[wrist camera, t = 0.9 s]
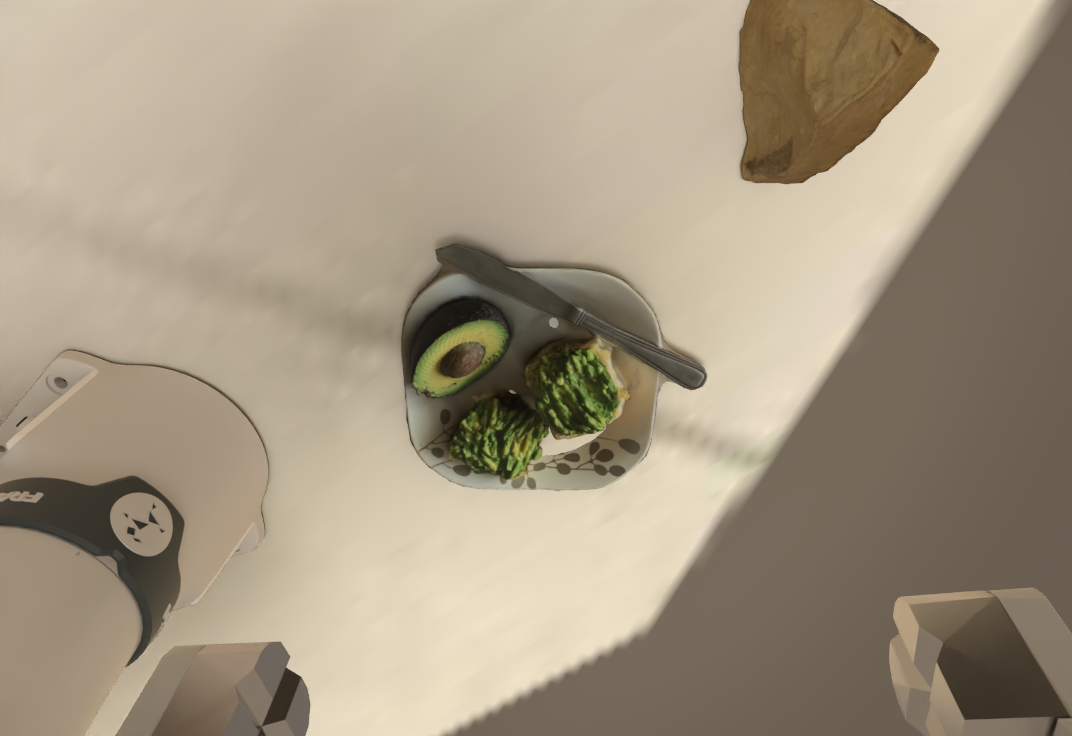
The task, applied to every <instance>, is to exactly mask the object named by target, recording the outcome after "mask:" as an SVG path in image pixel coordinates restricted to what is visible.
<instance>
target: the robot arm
mask: <svg viewBox="0 0 1072 736" xmlns="http://www.w3.org/2000/svg"><path fill="white" fill-rule="evenodd" d="M62 378H63V379H65V380H66V381H67V383H66V382H65V381H63V380H62ZM267 483H268V462H267V457H266V453H265V450H264V447H263V444H262V442H261V440H260V438H259V436H258V434H257V432H256V431H255V429H254V427H253V426H252V425H251V423H250V422H249V420H248V419H247V418H246V417H245V415H244V414H243V413H242V412H241V411H240V410H239V409H238V408H237V407H236V406H235V405H234V404H233V403H232V402H230V401H229V400H228V399H227V398H226V397H224V396H223V395H222V394H220V393H219V392H218V391H216V390H215V389H213V388H211V387H210V386H208V385H206V384H204V383H203V382H201V381H199V380H197V379H195V378H192V377H190V376H187V375H185V374H182V373H179V372H176V371H173V370H169V369H165V368H160V367H154V366H144V365H121V364H114V363H110V362H107V361H105V360H102V359H100V358H97V357H94V356H91V355H88V354H85V353H82V352H78V351H65V352H63V353H61V354H60V355H59V356H58V357H57V358H56V359H55V360H54V361H53V362H52V363H51V364H50V365H49V366H48V368H47V369H46V370H45V371H44V373H43V374H42V375H41V376H40V378H39V379H38V380H37V381H36V382H35V384H34V385H33V386H32V387H31V389H30V390H29V391H28V392H27V394H26V395H25V396H24V397H23V399H22V400H21V401H20V402H19V404H18V405H17V406H16V407H15V409H14V410H13V411H12V412H11V413H10V415H9V416H8V417H7V418H6V420H5V421H4V422H3V423H2V425H1V426H0V736H84V735H85V734H86V732H87V730H88V728H89V726H90V725H91V723H92V721H93V719H94V718H95V716H96V714H97V712H98V710H99V709H100V707H101V705H102V703H103V702H104V700H105V698H106V697H107V695H108V693H109V692H110V690H111V688H112V687H113V685H114V683H115V682H116V680H117V679H118V677H119V676H120V674H121V672H122V671H123V669H124V668H125V667H127V666H128V665H130V664H131V663H133V662H134V661H135V660H137V659H138V658H139V656H140V655H141V654H142V653H143V652H144V650H145V649H146V648H147V646H148V645H149V644H150V643H151V642H152V641H153V640H154V639H155V637H157V635H158V634H159V632H160V631H161V629H162V628H163V626H164V625H165V623H166V621H167V618H168V616H169V614H170V612H171V611H172V610H177V609H180V608H183V607H185V606H187V605H195V604H196V603H197V602H199V601H200V600H201V599H202V597H203V596H204V595H205V593H206V592H207V591H208V589H209V588H210V586H211V585H212V584H213V582H214V581H215V579H216V578H217V576H218V575H219V574H220V572H221V571H222V569H223V568H224V567H225V565H226V564H227V562H228V561H229V559H230V558H231V557H233V556H236V555H239V554H243V553H246V552H249V551H252V550H254V549H256V548H257V547H258V545H259V544H260V543H261V541H262V540H263V538H264V535H265V529H264V523H263V518H262V514H261V504H262V500H263V497H264V494H265V491H266V488H267ZM893 618H894V620H895V622H896V625H897V627H898V630H899V632H900V633H899V634H898V635H897V636H896V637H895V638H894V639H892V640H891V641H890V656H889V661H890V668H891V675H892V682H893V685H894V689H895V692H896V695H897V699H898V702H899V704H900V707H901V709H902V712H903V714H904V717H905V719H906V721H907V722H909V723H910V724H911V725H912V726H914V727H915V728H916V729H917V730H918V731H920V732H921V733H922V734H923V735H924V736H1072V634H1071V632H1070V631H1069V629H1068V628H1067V627H1066V625H1065V624H1064V622H1063V621H1062V619H1061V618H1060V617H1059V615H1058V614H1057V612H1056V611H1055V610H1054V608H1053V607H1052V605H1051V604H1050V603H1049V601H1048V600H1047V598H1046V597H1045V595H1044V594H1042V593H1041V592H1040V591H1038V590H1036V589H1035V588H1021V589H1007V590H993V591H986V592H985V591H983V590H980V591H968V592H956V593H945V594H931V595H919V596H909V597H908V596H907V597H899V599H898V600H897V601H896V603H895V607H894V615H893ZM289 658H290V656H289V654H288V653H287V651H286V649H285V648H284V646H283V645H282V643H281V642H260V643H234V644H209V645H192V646H175V647H174V648H173V649H171V650H170V651H169V652H168V653H167V654H165V655H164V656H163V658H162V659H161V661H160V662H159V664H158V666H157V668H156V669H155V671H154V673H153V674H152V676H151V678H150V679H149V681H148V683H147V684H146V686H145V688H144V689H143V691H142V693H141V694H140V696H139V698H138V699H137V701H136V703H135V704H134V706H133V708H132V709H131V711H130V713H129V714H128V716H127V718H126V719H125V721H124V723H123V724H122V726H121V728H120V730H119V731H118V733H117V735H116V736H305V735H306V732H307V729H308V725H309V713H310V699H309V694H308V689H307V687H306V685H305V683H304V681H303V679H302V677H301V676H299V675H297V674H296V673H294V672H292V671H291V670H289V669H287V668H286V666H287V663H288V661H289Z"/></svg>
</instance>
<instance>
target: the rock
mask: <svg viewBox="0 0 1072 736" xmlns="http://www.w3.org/2000/svg"><path fill="white" fill-rule="evenodd" d="M740 40H741V44H740V45H741V55H740V63H739V72H740V74H741V89H742V91H743V93H744V105H745V106H744V109H743V116H744V123H745V127H746V130H747V135H748V143H747V146H746V149H745V155H744V159H743V162H742V172H743V179H744V180H746V181H753V182H754V183H782V184H790V183H803V182H804V181H806V180H807V179H809V178H810V177H812V176H814V175H816V174H817V173H821V172H825V171H828V170H829V169H830V168H831V167H833V166H834V165H836V163H837V162H838V161H839V160H841V159H842V157H844V156H845V155H846V154H847V153H850V152H852V151H853V150H854V149H855V147H856V146H857V145H859V144H860V143H862V142H863V141H864V140H866V139H867V138H868V137H869V136H871V135H872V134H873V133H874V131H875V130H876V129H877V127H878V125H879V124H880V122H881V120H882V119H883V118H884V117H885V116H886V115H887V114H888V113H889V112H891V111H892V109H893V108H894V107H895V106H896V105H897V104H898V103H899V102H900V101H901V100H902V99H903V98H904V97H905V96H906V95H907V94H908V93H909V91H910V90H911V89H912V88H913V87H914V86H915V85H916V83H917V82H918V81H919V80H920V79H921V78H922V77H923V76H924V75H925V74H926V73H927V72H928V70H929V68H930V67H931V65H932V63H933V61H934V59H935V57H936V55H937V54H938V52H939V48H938V47H937V46H936V45H935V44H934V43H933V42H932V41H931V40H930V39H929V38H928V37H927V36H926V35H924V34H922V33H921V32H919V31H918V30H917V29H915V28H914V27H913V26H911V25H910V24H909V23H908V22H906V21H905V20H904V19H903V18H901V17H900V16H898V15H897V14H895V13H893V12H891V11H890V10H888V9H887V8H885V7H884V6H882V5H880V4H878V3H876V2H875V1H873V0H751V3H750V5H749V7H748V10H747V12H746V16H745V21H744V27H743V29H741V31H740Z"/></svg>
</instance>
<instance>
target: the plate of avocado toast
mask: <svg viewBox="0 0 1072 736" xmlns="http://www.w3.org/2000/svg"><path fill="white" fill-rule="evenodd" d="M435 250H436V249H435ZM436 255H437V260H438V261H439V262H441V263H442V268H441V270H440V272H439V273H438V275H437V276H436V277H435V278H434V279H433V280H432V281H431V282H429V284H428V285H427V286H426V287H425V288H424V289H423V290H422V291H420V292H419V293H418V295H417V297H416V298H415V299H414V300H413V302H412V305H411V306H410V308H409V309H408V311H407V313H406V316H405V319H404V324H403V331H402V362H403V363H402V364H403V373H404V385H405V393H406V395H405V398H406V405H407V423H408V428H409V434H410V441H411V443H412V445H413V447H414V449H415V451H416V452H417V454H418V455H419V457H420V458H421V459H422V460H423V461H424V462H425V463H426V464H427V465H428V467H430V468H431V469H433V470H434V471H436V472H437V473H438V474H440V475H441V476H443V477H444V478H446V479H448V480H449V481H451V482H453V483H456V484H458V485H461V486H465V487H471V488H476V489H531V490H537V489H547V490H556V491H560V490H588V489H597V488H602V487H605V486H607V485H609V484H612V483H614V482H616V481H617V480H619V479H620V478H622V477H623V476H625V475H626V474H627V473H628V472H629V471H631V470H632V469H633V468H634V467H635V466H636V465H637V464H639V463H640V462H641V461H642V460H643V459H644V457H646V456H647V453H648V450H649V447H650V445H651V440H652V439H651V437H652V430H653V426H654V421H655V416H656V406H657V396H658V393H659V391H660V387H661V386H662V384H663V383H664V382H666V381H669V382H673V383H676V384H678V385H680V386H682V387H683V388H687V389H689V390H695V389H698V388H700V387H702V386H703V385H704V384H705V382H706V380H707V373H706V370H705V369H704V367H702V366H701V365H700V364H698V363H696V362H694V361H692V360H690V359H688V358H686V357H684V356H682V355H681V354H679V353H677V352H675V351H674V350H672V349H671V348H669V346H668V345H667V344H666V343H665V341H664V339H663V336H662V333H661V331H660V327H659V323H658V320H657V318H656V314H655V313H654V312H653V310H652V309H651V308H650V307H649V306H648V304H647V303H646V302H645V301H644V299H643V298H642V297H641V296H640V295H639V294H638V293H637V292H636V291H635V290H634V289H632V288H631V287H630V286H629V284H628V283H626V282H625V281H624V280H623V279H619V278H616V277H614V276H612V275H609V274H607V273H603V272H597V271H592V270H583V269H575V268H551V269H549V268H513V267H508V266H505V265H503V264H502V263H501V262H500V261H499V260H497V259H494V258H492V257H490V256H488V255H486V254H484V253H481V252H478V251H475V250H473V249H470V248H466V247H463V246H460V245H456V244H453V245H451V246H448V247H445V248H440V249H437V250H436ZM552 317H554V318H557V319H558V321H559V326H558V327H557V328H552V327H550V325H549V320H550V318H552ZM509 390H513V391H514V392H516V393H517V394H512V393H510V392H509ZM549 427H550V430H551V433H552V435H553V437H554V438H555V439H556V440H560V439H564V438H566V439H571V438H574V437H578V436H582V435H585V434H594V433H596V432H598V431H602V430H603V429H604V428H605V427H606V429H605V430H604V431H603V432H602V433H601V434H600V435H599V436H598V437H596V438H595V439H594V440H592V441H591V442H589V443H587V444H585V445H583V446H581V447H579V448H578V449H575V450H573V451H570V452H566V453H561V454H558V455H550V456H542V448H541V447H540V446H539V445H540V443H541V441H542V439H543V438H546V436H547V435H548V433H549V431H548V428H549Z"/></svg>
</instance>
